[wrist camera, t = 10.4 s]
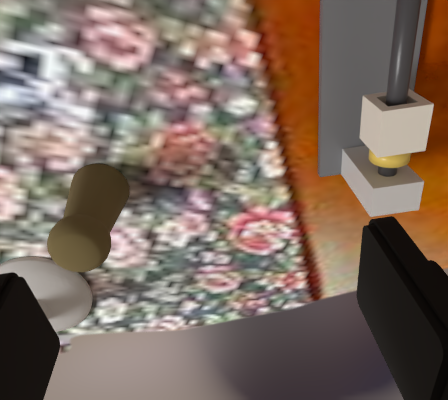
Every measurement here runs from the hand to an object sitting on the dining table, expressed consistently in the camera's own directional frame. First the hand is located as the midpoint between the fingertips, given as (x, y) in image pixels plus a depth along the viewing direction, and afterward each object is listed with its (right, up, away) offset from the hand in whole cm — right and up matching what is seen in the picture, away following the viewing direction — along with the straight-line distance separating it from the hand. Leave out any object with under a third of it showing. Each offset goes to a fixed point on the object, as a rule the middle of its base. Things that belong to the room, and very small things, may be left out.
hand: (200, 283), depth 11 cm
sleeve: (+15, +10, +23) cm, 29 cm away
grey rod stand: (+14, +16, +25) cm, 32 cm away
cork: (-13, +4, +30) cm, 33 cm away
